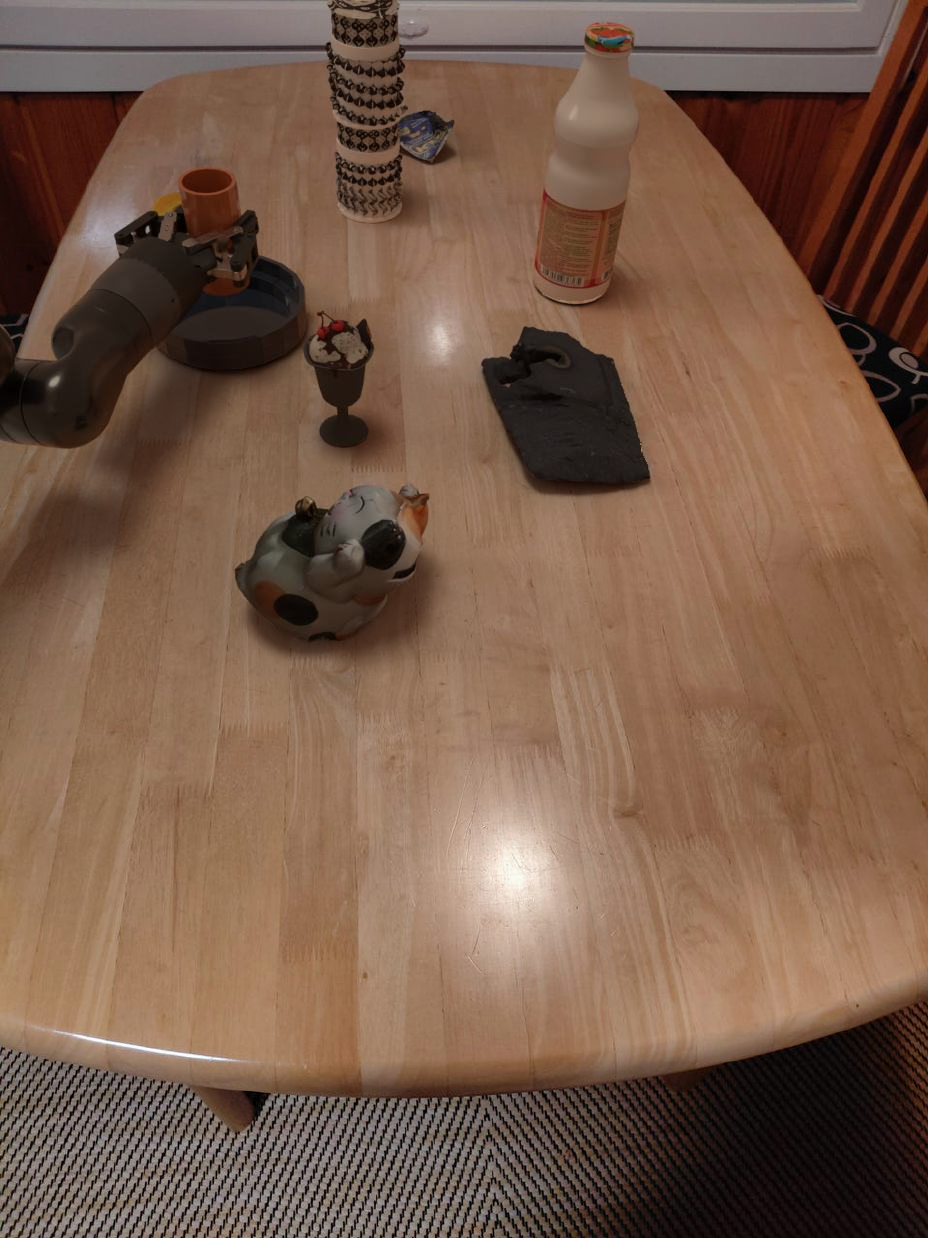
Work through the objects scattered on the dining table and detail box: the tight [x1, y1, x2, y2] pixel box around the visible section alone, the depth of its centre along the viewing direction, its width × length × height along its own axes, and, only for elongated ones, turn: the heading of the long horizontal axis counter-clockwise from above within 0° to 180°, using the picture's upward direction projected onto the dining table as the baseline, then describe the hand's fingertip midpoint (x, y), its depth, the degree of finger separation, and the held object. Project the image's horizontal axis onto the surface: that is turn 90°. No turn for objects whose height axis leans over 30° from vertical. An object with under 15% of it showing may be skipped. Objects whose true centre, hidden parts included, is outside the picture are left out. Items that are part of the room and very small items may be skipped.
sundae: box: [302, 309, 375, 448], centre depth 89 cm, size 7×7×15 cm
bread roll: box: [149, 191, 187, 234], centre depth 115 cm, size 8×9×4 cm
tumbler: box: [177, 166, 250, 296], centre depth 96 cm, size 6×6×11 cm
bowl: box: [156, 254, 308, 371], centre depth 104 cm, size 17×17×4 cm
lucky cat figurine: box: [234, 482, 430, 643], centre depth 78 cm, size 15×12×14 cm
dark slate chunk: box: [480, 325, 651, 485], centre depth 96 cm, size 15×22×5 cm
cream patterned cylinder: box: [324, 0, 407, 224], centre depth 113 cm, size 9×9×25 cm
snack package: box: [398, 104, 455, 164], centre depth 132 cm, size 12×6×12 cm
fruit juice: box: [532, 21, 640, 301], centre depth 103 cm, size 9×9×28 cm
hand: (224, 212), depth 97 cm, fingers closed on tumbler, 5 cm apart
